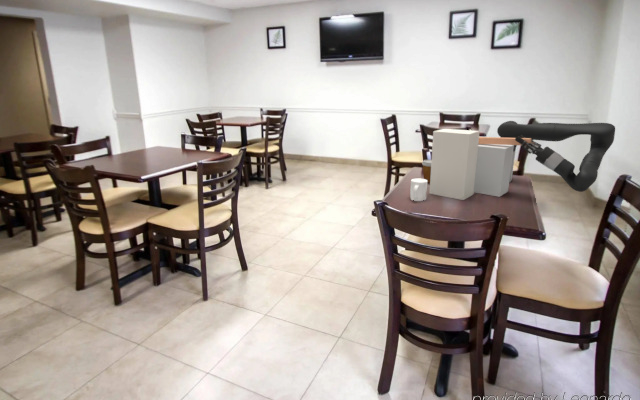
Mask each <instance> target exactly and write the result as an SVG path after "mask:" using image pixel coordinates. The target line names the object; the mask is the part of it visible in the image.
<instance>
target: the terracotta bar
mask: <svg viewBox="0 0 640 400" xmlns="http://www.w3.org/2000/svg"><path fill="white" fill-rule="evenodd" d="M515 139H516V138H501V137H500V136H498V137H497V136H494V137H493V136H489V137H488V136H479V143H478V144H499V145H517V146H522V145H521V144H520V143H519V142H517V141H516V140H515ZM522 139H524V140H525V141H527V142H529V143H530V142H531V140H532V139H531V138H522ZM525 146H527V145H525Z"/></svg>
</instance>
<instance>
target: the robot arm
mask: <svg viewBox="0 0 640 400" xmlns="http://www.w3.org/2000/svg"><path fill="white" fill-rule="evenodd" d="M496 132H497V133H496V134H497V135H498V137H501V138H516V139H515V140H516V141H517V142H519V143H520V144H521V145H520V146H521V148H522V149H523V150H525V152H527V153H528V154H529V155H531V154H532V155H535V161H537V162H538V163H540V164H542V165H543V166H544V167H546V168H547V169H549V170H551V171H553V172H554V173H556V174H557V175H559V176H560V177H561V178H562V179H563V180H564V182H565V183H566V184H567V185H568V186H569V187H570V188H571V189H572V190H574V191H576V192H580V193H581V192H583V193H584V192H585V191H587V190H588V189H589V188H590V187H591V186H592V185H593V184H594V183H595V182H596V181H597V179H598V174H599V173H598V171H599V168H600V165H601V163H602V160H603V158H604V157H605V155H606V153H607V152H608V151H609V149H610V148H611V146H612V145H613V144H614V141H615V135H616V126H615V125H614V124H612V123H609V122H587V123H562V122H542V123H541V122H539V123H538V122H537V123H529V124H528V123H527V124H523V123H518V122H516V121H515V120H507V121H505V122H502V123H501V124H500V125H498V128H497V131H496ZM581 135H587V136H588V135H589V136H590V147H589V151H588V153H586V154H585V155H584V157H583V158H582V161H581V163H580V165H579V169H578V173H577V174H575V172H574V170H575V165H574V163H573V162H570V161H569V160H568V159H566V158H565V157H564V156H562V155H561V154H560V153H558V152H557V151H555V150H554V149H552V148H550V147H549V146H545V147H544V148H542V144H540V143H539V142H536V141H543V142H561V141H564V140H567V139H569V138H572V137H576V136H581ZM522 138H531V142H530V143H529V142H527V141H525V140H524V139H522ZM525 145H527V146H525ZM517 146H518V145H514V148H513V156H512V164H511V172H510V180H509V183H511V182H512V180H513V173H514V166H515V165H514V164H515V158H516V157H515V156H516V150H517V149H516V148H517Z"/></svg>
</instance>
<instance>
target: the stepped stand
mask: <svg viewBox="0 0 640 400" xmlns="http://www.w3.org/2000/svg"><path fill="white" fill-rule="evenodd" d="M479 137H480V130H473V131H471V130H470V129H469V130H467V129H455V128H441V129H437V130H434V131H432V146H431V147H432V148H431V159H430V160H431V176H430V183H429V194H431V195H435V196H438V197H439V196H441V197H443V198H444V197H446V198H451V199H456V200H461V201H465V200H466V199H468V198H470V197H471V196H473V195H474V194H476V193H477V194H481V195H488V196H492V197H502V196H503V195H505V194H506V193H508V192H509V186H510V182H509V180H510V172H511V164H512V156H513V148H514V145H499V144H478V143H479Z"/></svg>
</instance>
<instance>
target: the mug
mask: <svg viewBox="0 0 640 400" xmlns="http://www.w3.org/2000/svg"><path fill="white" fill-rule="evenodd" d="M427 182H428V181H427V180H426V179H424V178H420V177H419V178H418V177H417V178H411V180H410V187H409V188H410V190H409V192H410V193H409V195H410V197H409V198H410V200H411V201H413V200H414V201H413V202H424V201H426V200H427V190H428V183H427ZM423 200H424V201H423Z"/></svg>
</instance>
